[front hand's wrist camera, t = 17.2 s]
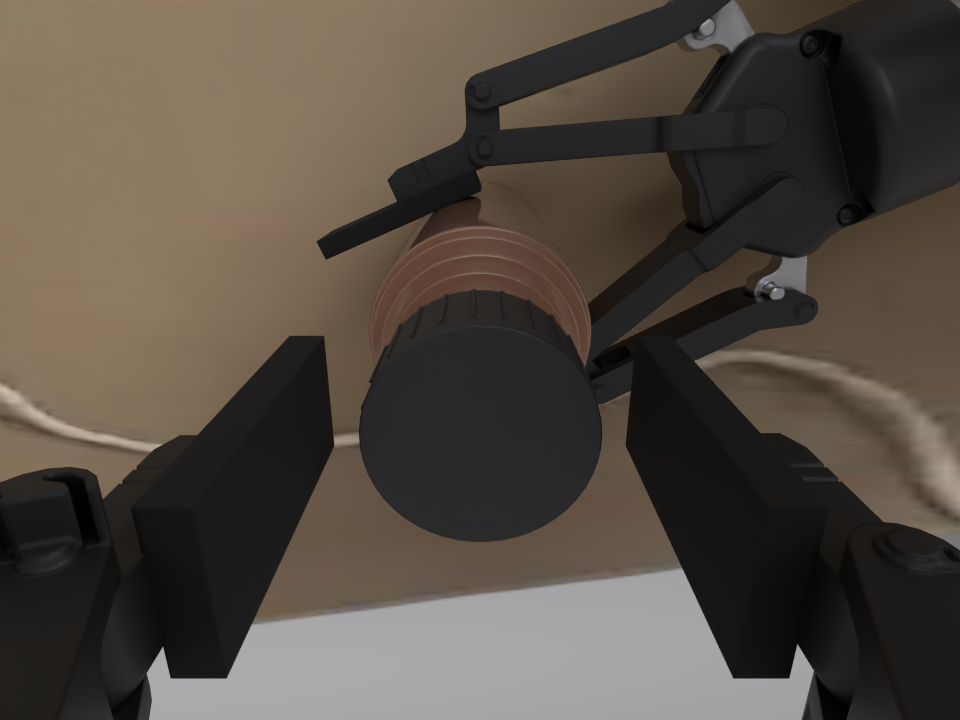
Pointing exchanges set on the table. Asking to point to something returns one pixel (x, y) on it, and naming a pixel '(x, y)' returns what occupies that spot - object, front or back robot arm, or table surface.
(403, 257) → the bottle
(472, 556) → the table surface
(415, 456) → the cap
